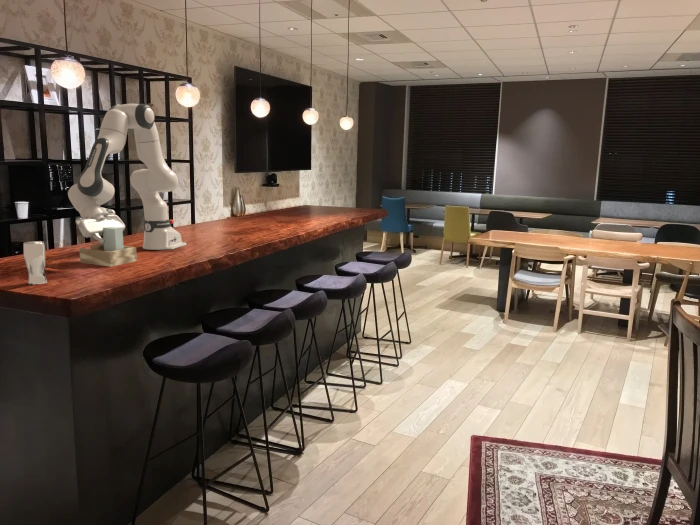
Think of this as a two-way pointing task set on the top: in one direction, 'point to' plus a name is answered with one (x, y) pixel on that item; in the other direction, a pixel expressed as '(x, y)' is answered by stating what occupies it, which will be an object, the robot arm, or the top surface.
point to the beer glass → (35, 261)
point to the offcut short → (97, 247)
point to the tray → (108, 256)
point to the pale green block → (113, 238)
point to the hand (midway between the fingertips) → (112, 240)
